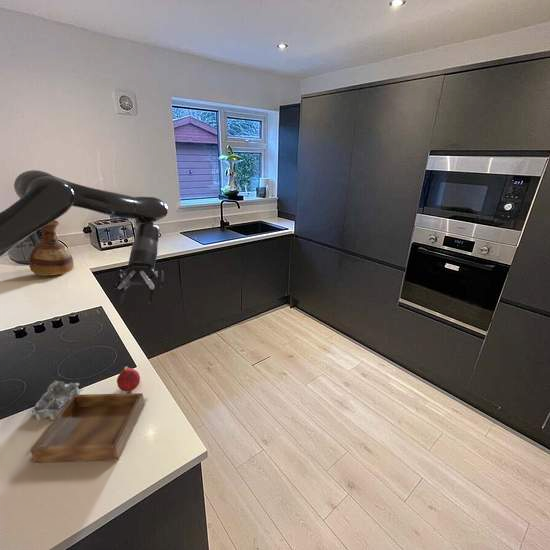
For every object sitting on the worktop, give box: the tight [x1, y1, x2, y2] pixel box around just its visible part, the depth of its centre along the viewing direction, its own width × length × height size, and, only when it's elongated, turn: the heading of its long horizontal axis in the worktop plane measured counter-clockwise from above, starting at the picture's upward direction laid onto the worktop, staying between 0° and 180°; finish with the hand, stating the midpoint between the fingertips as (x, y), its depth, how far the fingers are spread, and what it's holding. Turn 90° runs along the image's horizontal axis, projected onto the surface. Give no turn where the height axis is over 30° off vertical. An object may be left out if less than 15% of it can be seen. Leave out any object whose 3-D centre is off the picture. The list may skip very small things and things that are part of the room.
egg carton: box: [29, 379, 81, 421], centre depth 76 cm, size 11×8×4 cm
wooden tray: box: [29, 392, 146, 464], centre depth 69 cm, size 18×16×4 cm
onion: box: [116, 366, 141, 392], centre depth 81 cm, size 6×6×8 cm
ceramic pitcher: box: [28, 220, 75, 277], centre depth 157 cm, size 20×20×30 cm
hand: (134, 302), depth 85 cm, fingers open, 8 cm apart
